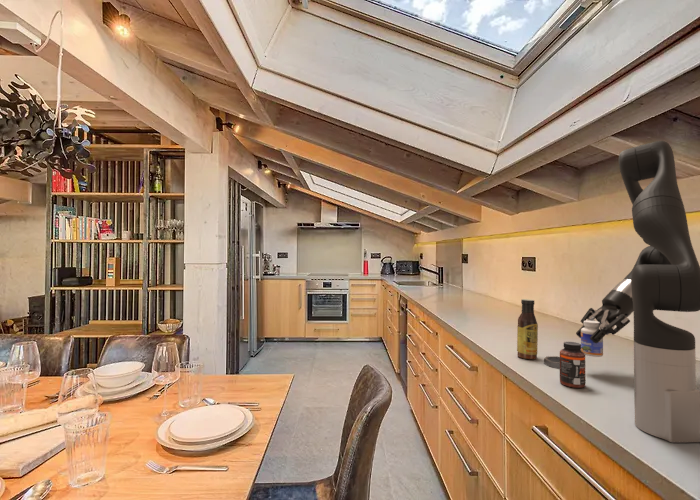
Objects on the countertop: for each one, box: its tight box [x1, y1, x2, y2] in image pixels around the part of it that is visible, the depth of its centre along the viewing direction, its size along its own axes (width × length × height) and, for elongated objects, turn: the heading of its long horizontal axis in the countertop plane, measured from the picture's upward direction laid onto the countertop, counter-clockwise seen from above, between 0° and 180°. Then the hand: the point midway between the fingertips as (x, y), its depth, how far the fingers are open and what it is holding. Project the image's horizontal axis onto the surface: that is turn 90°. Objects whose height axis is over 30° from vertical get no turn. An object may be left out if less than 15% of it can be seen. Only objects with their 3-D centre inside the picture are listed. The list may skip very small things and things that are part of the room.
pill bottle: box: [580, 320, 604, 358], centre depth 103 cm, size 5×5×10 cm
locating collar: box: [543, 355, 560, 370], centre depth 112 cm, size 8×8×2 cm
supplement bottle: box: [559, 341, 587, 389], centre depth 95 cm, size 6×6×11 cm
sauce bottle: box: [516, 298, 539, 360], centre depth 120 cm, size 6×6×20 cm
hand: (585, 338), depth 103 cm, fingers closed on pill bottle, 5 cm apart
